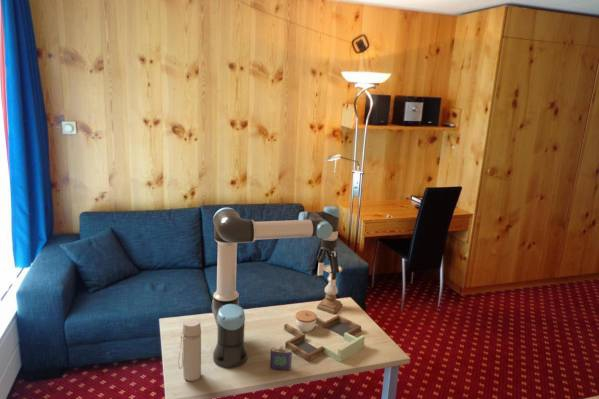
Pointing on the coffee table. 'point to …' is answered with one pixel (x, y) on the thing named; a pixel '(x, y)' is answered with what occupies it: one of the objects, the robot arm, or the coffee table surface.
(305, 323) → the lidded jar
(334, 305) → the candle holder
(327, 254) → the robot arm
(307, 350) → the track
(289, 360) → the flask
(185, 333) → the water bottle
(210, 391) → the coffee table surface
